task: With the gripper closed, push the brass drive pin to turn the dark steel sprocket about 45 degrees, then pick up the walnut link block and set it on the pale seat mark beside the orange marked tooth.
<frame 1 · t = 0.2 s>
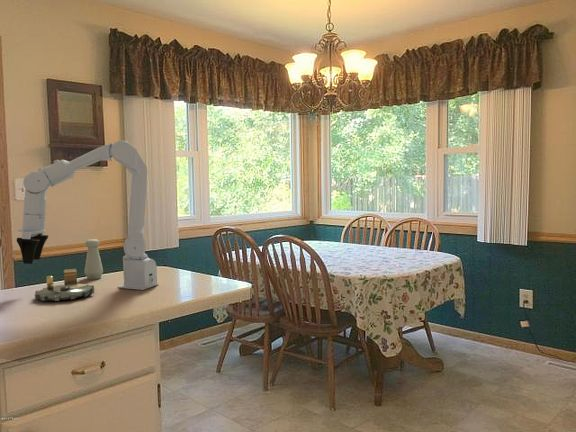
hand: (31, 261, 141), 10 cm above the countertop, tool pointing down, fingers open, 7 cm apart
link block: (70, 286, 152), on the countertop
sprocket: (64, 285, 138), point 3 cm above the countertop, hinge at 0.0°
salt shaker: (94, 278, 164), on the countertop
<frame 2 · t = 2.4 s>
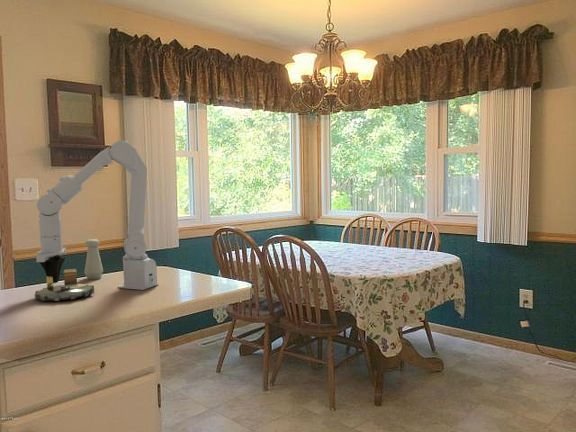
hand: (53, 282, 142), 3 cm above the countertop, tool pointing down, fingers closed, pressing on sprocket
sprocket: (64, 285, 138), point 3 cm above the countertop, hinge at 0.0°, touching gripper
everything else where it was.
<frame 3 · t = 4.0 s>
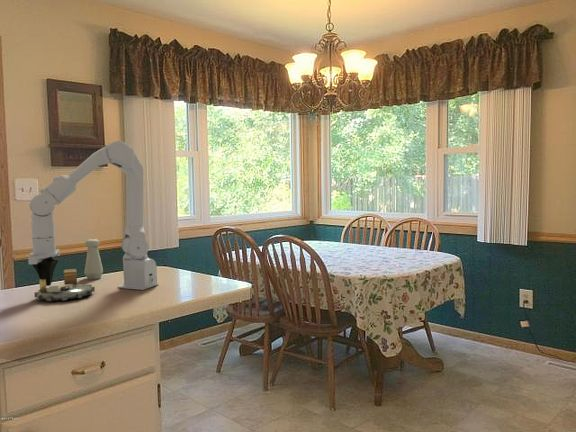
hand: (46, 285, 138), 3 cm above the countertop, tool pointing down, fingers closed
sprocket: (64, 285, 138), point 3 cm above the countertop, hinge at 44.1°, touching gripper
everything else where it was.
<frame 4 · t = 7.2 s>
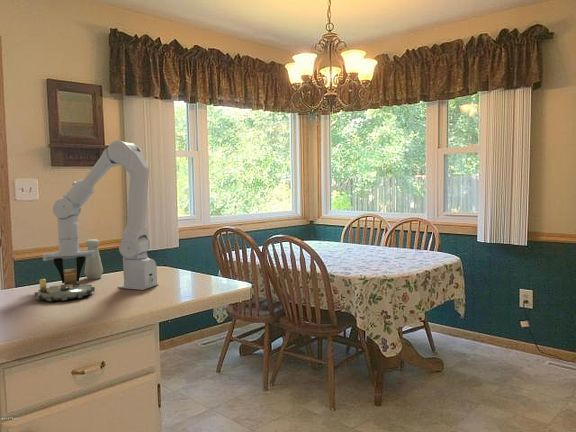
hand: (70, 281, 152), 1 cm above the countertop, tool pointing down, fingers closed on link block, 3 cm apart
link block: (70, 286, 152), on the countertop, touching gripper
sprocket: (64, 285, 138), point 3 cm above the countertop, hinge at 44.2°
everything else where it was.
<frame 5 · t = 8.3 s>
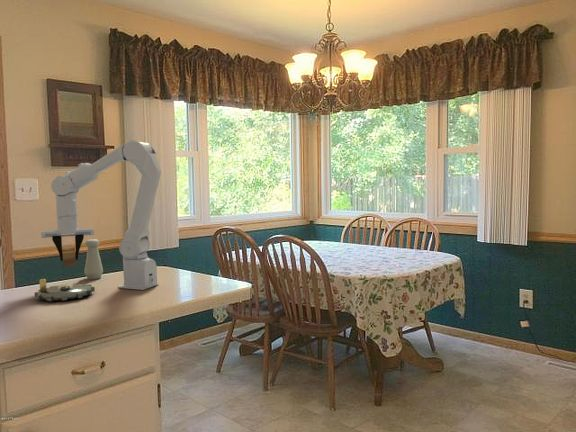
hand: (69, 259, 151), 8 cm above the countertop, tool pointing down, fingers closed on link block, 3 cm apart
link block: (69, 264, 151), point 7 cm above the countertop, touching gripper
everything else where it was.
when the fingers open (5 cm above the countertop, at t = 9.8 s): link block drops 1 cm, resting on sprocket.
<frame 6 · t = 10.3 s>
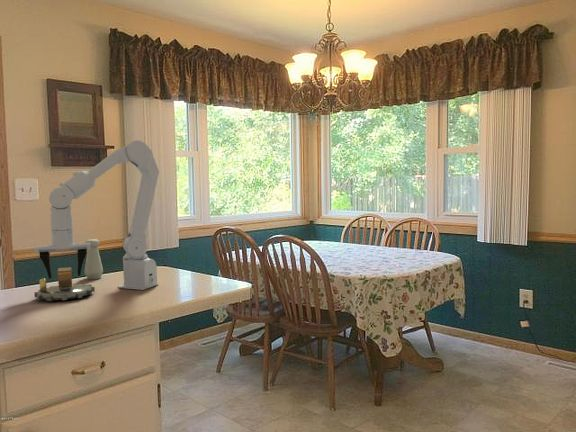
hand: (64, 276, 142), 5 cm above the countertop, tool pointing down, fingers open, 7 cm apart
link block: (65, 286, 143), point 2 cm above the countertop, touching sprocket
sprocket: (64, 285, 138), point 3 cm above the countertop, hinge at 44.2°, touching link block
everything else where it was.
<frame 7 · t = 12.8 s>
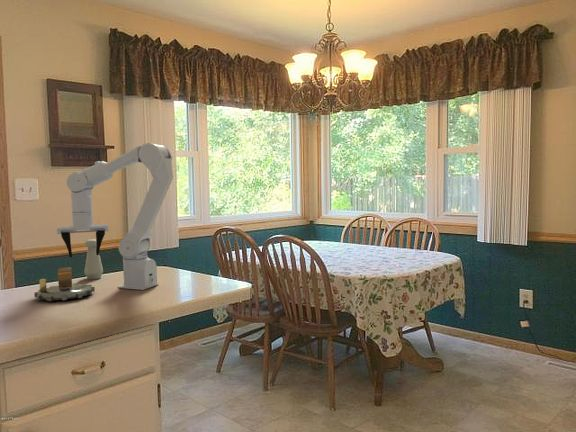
hand: (84, 255, 151), 9 cm above the countertop, tool pointing down, fingers open, 7 cm apart
nothing on the countertop moved.
at the end: sprocket at +44° (first picture: +0°); link block 0.2 cm from the target spot on the sprocket, point 2.1 cm above the sprocket's base; link block tilted 0° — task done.
